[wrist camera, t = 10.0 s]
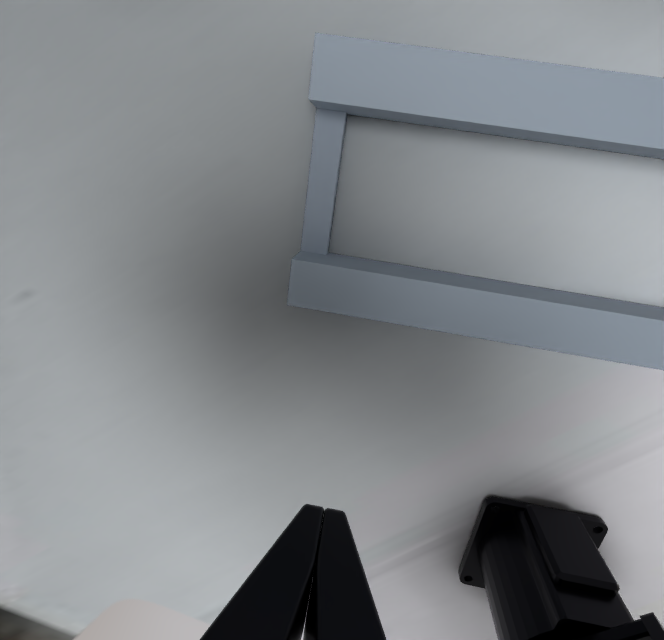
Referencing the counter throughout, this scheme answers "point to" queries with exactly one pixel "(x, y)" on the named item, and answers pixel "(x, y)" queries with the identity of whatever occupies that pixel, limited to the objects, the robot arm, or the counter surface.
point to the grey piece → (488, 118)
